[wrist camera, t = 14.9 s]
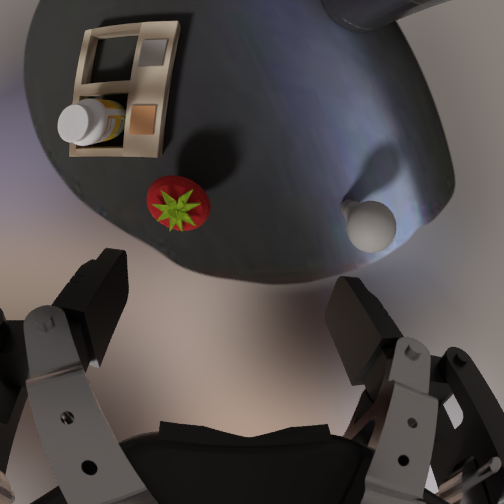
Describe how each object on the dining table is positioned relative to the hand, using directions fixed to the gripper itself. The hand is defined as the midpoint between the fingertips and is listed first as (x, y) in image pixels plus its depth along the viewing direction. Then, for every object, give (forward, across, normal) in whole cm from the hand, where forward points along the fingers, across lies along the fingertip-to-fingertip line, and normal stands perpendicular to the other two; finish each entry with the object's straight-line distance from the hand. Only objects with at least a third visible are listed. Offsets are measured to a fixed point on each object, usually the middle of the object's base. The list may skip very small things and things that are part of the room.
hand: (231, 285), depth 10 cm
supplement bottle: (+27, +17, -5) cm, 32 cm away
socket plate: (+26, +15, -9) cm, 32 cm away
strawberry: (+27, +5, +4) cm, 27 cm away
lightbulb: (+27, -17, +3) cm, 32 cm away
